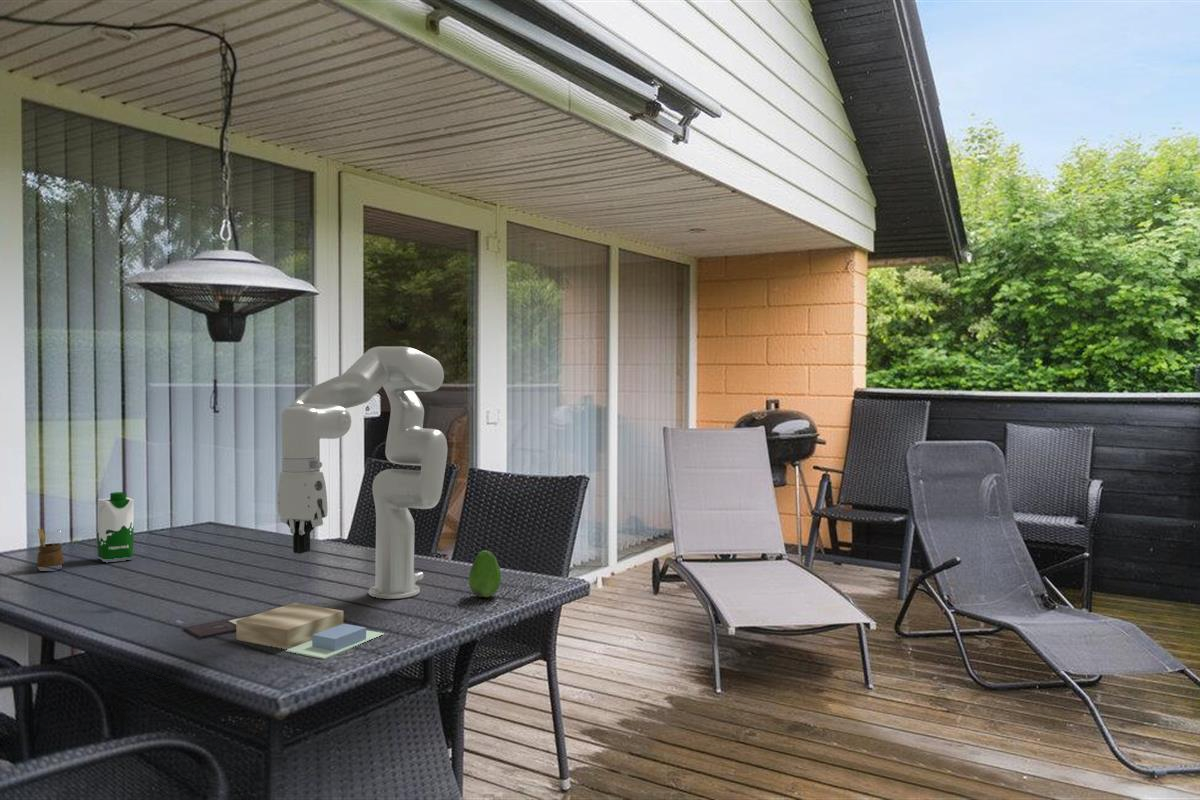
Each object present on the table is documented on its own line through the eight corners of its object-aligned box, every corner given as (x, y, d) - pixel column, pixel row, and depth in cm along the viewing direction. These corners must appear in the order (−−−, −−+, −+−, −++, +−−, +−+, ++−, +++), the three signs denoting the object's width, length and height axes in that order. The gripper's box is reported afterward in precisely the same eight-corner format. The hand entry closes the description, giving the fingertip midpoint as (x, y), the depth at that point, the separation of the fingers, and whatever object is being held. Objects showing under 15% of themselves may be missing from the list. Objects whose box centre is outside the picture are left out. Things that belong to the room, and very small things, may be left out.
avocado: (487, 602, 205) (487, 554, 205) (462, 598, 209) (463, 550, 209) (507, 596, 212) (507, 549, 212) (482, 591, 216) (483, 545, 216)
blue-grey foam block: (366, 627, 173) (366, 639, 173) (343, 623, 176) (343, 634, 176) (335, 639, 165) (334, 651, 165) (312, 634, 167) (312, 646, 168)
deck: (294, 620, 187) (294, 602, 186) (343, 629, 181) (343, 610, 181) (236, 639, 172) (236, 620, 172) (287, 649, 166) (287, 629, 166)
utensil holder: (68, 568, 232) (68, 525, 232) (48, 573, 226) (48, 529, 226) (51, 567, 234) (51, 524, 234) (30, 572, 228) (31, 528, 227)
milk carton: (103, 564, 238) (103, 495, 238) (93, 559, 244) (94, 491, 244) (136, 560, 244) (137, 492, 244) (126, 555, 251) (127, 489, 250)
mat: (348, 628, 181) (348, 626, 181) (385, 634, 177) (385, 633, 177) (285, 651, 165) (285, 650, 165) (324, 659, 161) (324, 657, 161)
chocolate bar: (183, 627, 178) (265, 611, 191) (183, 631, 178) (265, 615, 191) (200, 636, 172) (284, 619, 185) (200, 641, 172) (283, 623, 185)
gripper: (341, 465, 175) (341, 552, 176) (287, 461, 182) (288, 544, 183) (315, 470, 169) (316, 559, 169) (260, 465, 175) (261, 552, 176)
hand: (301, 551), depth 176 cm, fingers closed
